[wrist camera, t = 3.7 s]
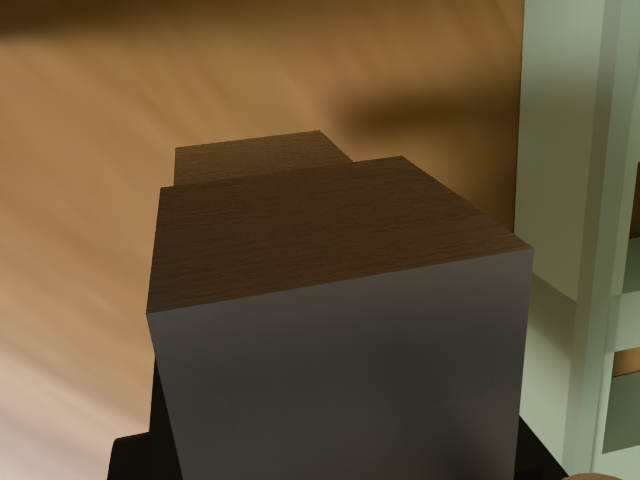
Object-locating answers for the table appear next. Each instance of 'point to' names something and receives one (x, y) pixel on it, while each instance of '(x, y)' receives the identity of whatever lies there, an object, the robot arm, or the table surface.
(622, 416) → the rail
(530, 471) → the robot arm
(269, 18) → the table surface
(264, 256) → the tall taupe block
